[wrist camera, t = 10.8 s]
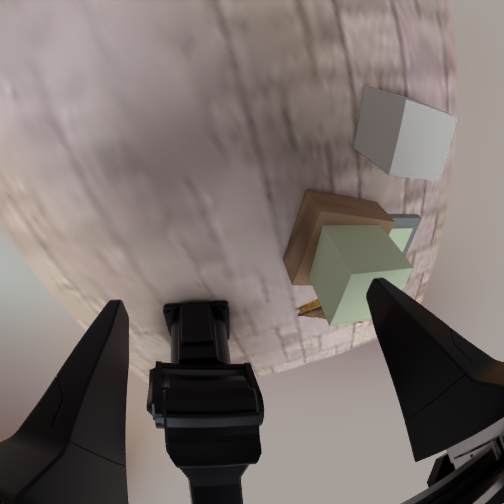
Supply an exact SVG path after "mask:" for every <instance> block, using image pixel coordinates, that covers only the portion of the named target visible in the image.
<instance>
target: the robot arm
mask: <svg viewBox="0 0 504 504" xmlns="http://www.w3.org/2000/svg"><path fill="white" fill-rule="evenodd" d="M366 299H367V303H368V306H369V310H370V314H371V317H372V321H373V325H374V328H375V332H376V335H377V338H378V340H379V343H380V346H381V348H382V351H383V354H384V357H385V360H386V363H387V366H388V368H389V371H390V375H391V378H392V380H393V384H394V387H395V390H396V393H397V396H398V400H399V403H400V406H401V410H402V413H403V417H404V420H405V424H406V428H407V432H408V436H409V439H410V443H411V447H412V452H413V455H414V459H415V462H417V461H420V460H422V459H425V458H427V457H430V456H432V455H434V454H437V453H439V452H441V451H444V450H447V453H445V454H444V455H442V456H440V457H439V458H437V459H436V461H435V463H434V466H433V469H432V471H431V474H430V476H429V479H428V481H427V484H428V487H429V488H428V489H426V490H424V491H423V492H421V493H419V494H418V495H416V496H414V497H412V498H411V499H409V500H407V501H405V502H403V503H401V504H503V503H504V362H501V361H497V360H495V359H493V358H491V357H490V356H489V355H487V354H486V353H484V352H483V351H482V350H480V349H479V348H477V347H476V346H474V345H473V344H472V343H470V342H468V341H467V340H466V339H465V338H463V337H462V336H461V335H459V334H458V333H457V332H456V331H454V330H453V329H451V328H450V327H449V326H448V325H447V324H445V323H444V322H443V321H441V320H440V319H439V318H437V317H436V316H435V315H434V314H432V313H431V312H430V311H428V310H427V309H426V308H424V307H423V306H422V305H421V304H419V303H418V302H417V301H415V300H414V299H412V298H411V297H410V296H408V295H407V294H406V293H404V292H403V291H402V290H400V289H399V288H397V287H396V286H395V285H393V284H392V283H391V282H389V281H388V280H386V279H385V278H383V277H380V278H374V279H373V280H372V282H371V284H370V286H369V288H368V291H367V293H366ZM163 313H164V316H165V319H166V323H167V326H168V329H169V333H170V336H171V363H162V362H161V361H156V367H155V368H153V369H151V370H150V375H149V391H148V398H147V411H148V412H149V413H150V414H151V415H152V416H153V419H154V420H155V423H156V428H161V429H163V428H164V429H165V442H166V450H167V453H168V454H169V456H170V458H171V459H172V461H173V463H174V464H175V465H176V467H177V468H180V469H181V470H182V472H183V473H184V474H185V475H186V476H187V478H188V481H189V489H190V497H191V504H243V498H242V487H241V476H242V475H243V473H244V471H245V470H246V469H247V467H248V465H249V464H256V463H257V462H258V460H259V457H260V455H261V444H260V435H259V426H260V425H261V424H262V423H263V418H264V405H263V398H262V394H261V392H260V389H259V386H258V383H257V381H256V378H255V375H254V372H253V370H252V367H251V364H250V363H244V364H231V361H230V354H229V347H228V339H229V304H228V302H226V301H220V302H206V303H191V304H173V305H165V306H164V307H163ZM128 368H129V317H128V314H127V311H126V309H125V307H124V304H123V302H122V301H121V300H110V301H109V302H108V303H107V304H106V306H105V307H104V308H103V310H102V311H101V312H100V314H99V315H98V316H97V318H96V319H95V320H94V322H93V323H92V324H91V326H90V327H89V328H88V330H87V331H86V333H85V334H84V335H83V337H82V338H81V340H80V341H79V342H78V344H77V345H76V347H75V348H74V350H73V351H72V353H71V354H70V356H69V357H68V359H67V360H66V362H65V363H64V365H63V366H62V368H61V369H60V371H59V372H58V374H57V377H55V378H54V380H53V381H52V383H51V385H50V386H49V388H48V389H47V391H46V392H45V394H44V395H43V397H42V398H41V399H40V401H39V402H38V404H37V405H36V406H35V408H34V409H33V410H32V412H31V413H30V414H29V416H28V417H27V419H26V420H25V421H24V422H23V424H22V425H21V427H20V428H19V429H18V431H17V432H16V433H15V434H14V435H12V436H11V437H10V438H8V439H6V440H4V441H2V442H0V504H128V493H127V478H126V457H125V455H126V453H125V424H126V423H125V421H126V395H127V380H128Z"/></svg>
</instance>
